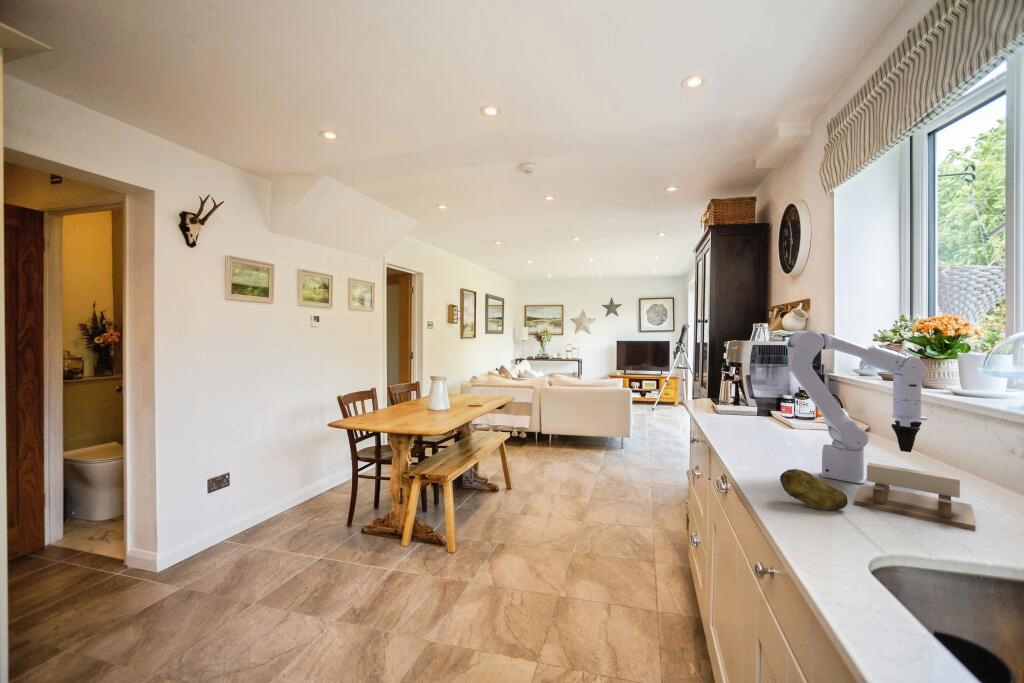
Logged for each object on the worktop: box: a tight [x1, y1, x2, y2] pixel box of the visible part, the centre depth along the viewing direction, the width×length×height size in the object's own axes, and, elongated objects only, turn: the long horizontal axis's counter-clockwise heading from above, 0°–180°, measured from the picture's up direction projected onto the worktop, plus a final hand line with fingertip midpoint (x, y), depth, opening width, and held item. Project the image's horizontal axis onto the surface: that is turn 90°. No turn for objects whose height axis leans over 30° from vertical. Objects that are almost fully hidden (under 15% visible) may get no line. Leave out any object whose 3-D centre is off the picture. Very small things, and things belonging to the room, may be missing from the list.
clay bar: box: [866, 462, 961, 499], centre depth 102 cm, size 16×3×4 cm, turn 45°
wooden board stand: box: [853, 482, 976, 531], centre depth 102 cm, size 20×16×4 cm
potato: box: [779, 468, 849, 511], centre depth 103 cm, size 8×13×8 cm, turn 40°
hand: (906, 448), depth 119 cm, fingers open, 7 cm apart
